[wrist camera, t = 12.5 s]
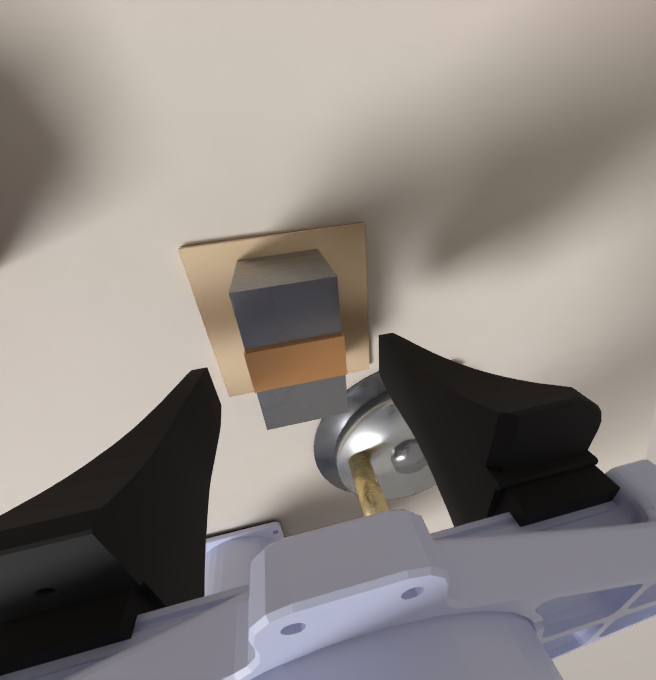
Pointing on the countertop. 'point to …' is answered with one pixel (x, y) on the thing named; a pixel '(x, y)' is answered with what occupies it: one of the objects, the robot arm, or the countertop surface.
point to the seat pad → (220, 258)
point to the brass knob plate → (380, 456)
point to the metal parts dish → (334, 424)
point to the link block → (291, 335)
